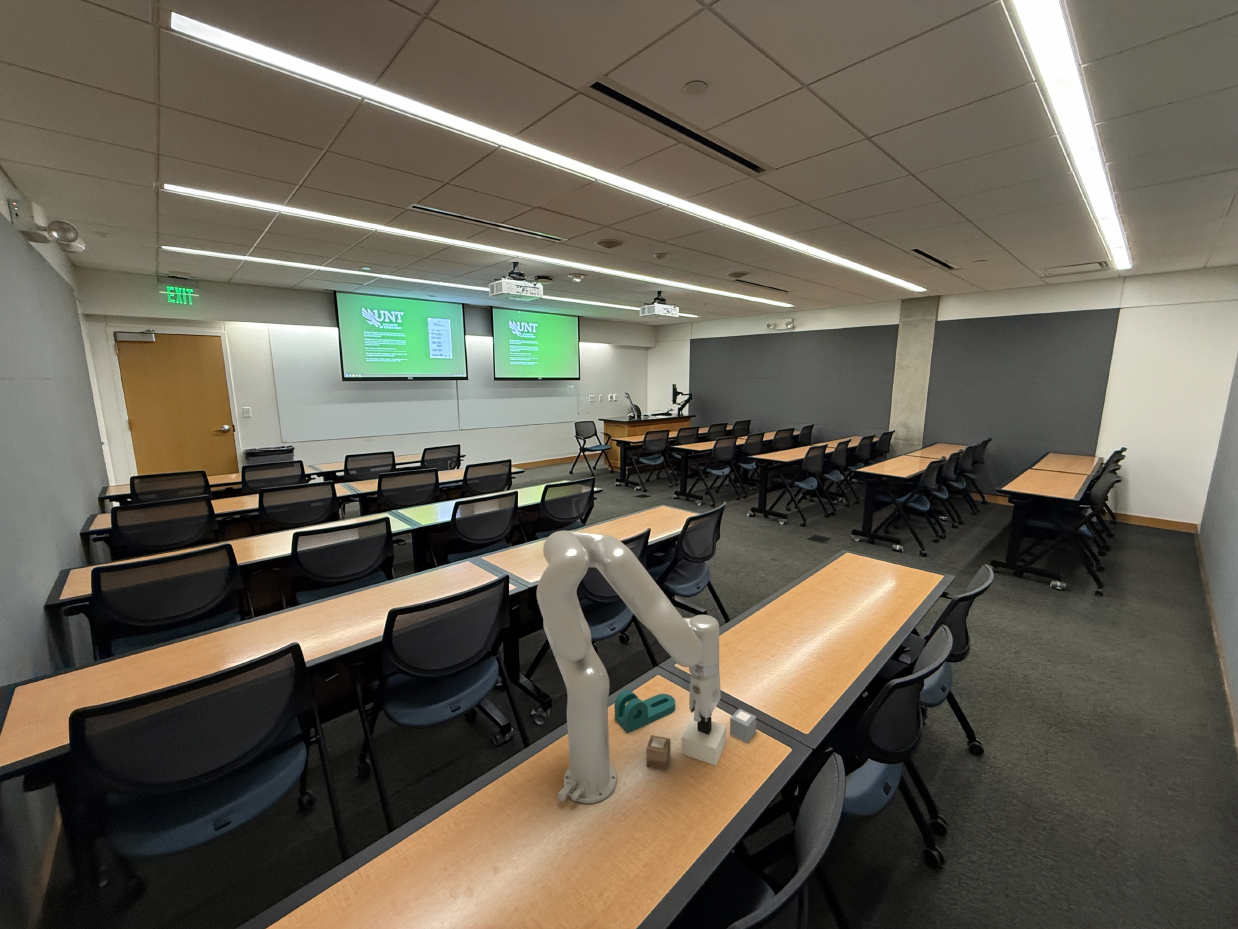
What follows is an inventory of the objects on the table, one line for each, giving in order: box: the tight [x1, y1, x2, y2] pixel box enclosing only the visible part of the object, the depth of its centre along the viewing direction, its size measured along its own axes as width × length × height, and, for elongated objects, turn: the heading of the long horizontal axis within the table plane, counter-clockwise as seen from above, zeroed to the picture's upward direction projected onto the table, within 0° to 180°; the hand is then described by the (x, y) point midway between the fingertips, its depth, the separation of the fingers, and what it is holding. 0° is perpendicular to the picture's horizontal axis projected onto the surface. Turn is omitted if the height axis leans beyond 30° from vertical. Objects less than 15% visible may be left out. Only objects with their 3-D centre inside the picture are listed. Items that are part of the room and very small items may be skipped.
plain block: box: [681, 715, 727, 767], centre depth 123 cm, size 9×9×5 cm
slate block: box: [729, 708, 757, 744], centre depth 128 cm, size 5×5×5 cm
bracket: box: [614, 689, 676, 734], centre depth 136 cm, size 18×7×8 cm, turn 121°
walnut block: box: [645, 734, 672, 772], centre depth 119 cm, size 5×5×5 cm
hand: (704, 731), depth 123 cm, fingers closed
